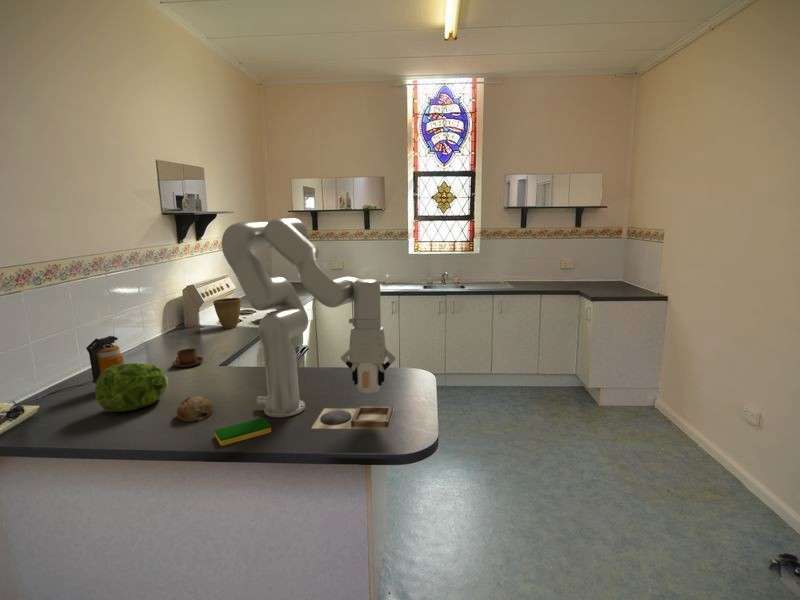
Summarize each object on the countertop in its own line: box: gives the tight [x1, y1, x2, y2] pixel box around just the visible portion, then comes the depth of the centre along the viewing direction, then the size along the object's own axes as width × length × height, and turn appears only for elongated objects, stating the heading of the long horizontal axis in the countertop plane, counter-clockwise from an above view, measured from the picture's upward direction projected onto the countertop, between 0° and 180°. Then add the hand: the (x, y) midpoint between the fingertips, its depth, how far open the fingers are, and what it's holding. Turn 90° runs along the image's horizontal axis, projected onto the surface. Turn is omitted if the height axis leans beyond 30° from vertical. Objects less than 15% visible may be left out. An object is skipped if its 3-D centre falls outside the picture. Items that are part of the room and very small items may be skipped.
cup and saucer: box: [172, 348, 204, 368], centre depth 201 cm, size 12×12×6 cm
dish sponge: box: [214, 417, 272, 446], centre depth 133 cm, size 7×14×2 cm, turn 122°
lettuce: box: [94, 362, 169, 413], centre depth 156 cm, size 16×21×15 cm
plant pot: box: [212, 297, 242, 329], centre depth 269 cm, size 15×15×16 cm
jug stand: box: [310, 405, 395, 431], centre depth 139 cm, size 22×14×2 cm, turn 84°
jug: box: [356, 362, 381, 394], centre depth 135 cm, size 9×6×9 cm
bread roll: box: [176, 395, 214, 422], centre depth 147 cm, size 10×10×8 cm
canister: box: [85, 335, 125, 384], centre depth 171 cm, size 9×11×20 cm
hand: (368, 383), depth 136 cm, fingers closed on jug, 6 cm apart
